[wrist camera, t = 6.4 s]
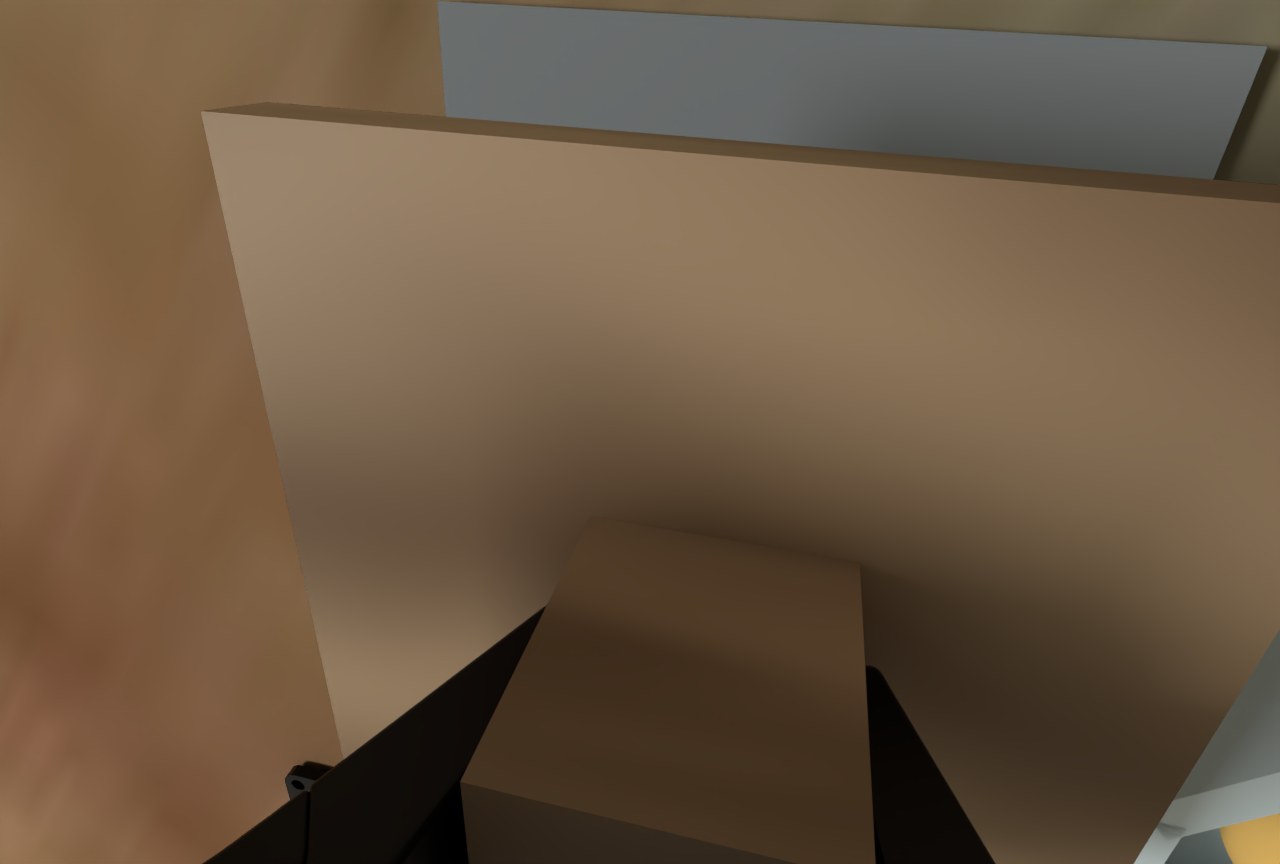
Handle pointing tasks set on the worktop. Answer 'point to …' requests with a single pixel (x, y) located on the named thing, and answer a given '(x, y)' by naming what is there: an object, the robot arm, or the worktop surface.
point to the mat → (852, 85)
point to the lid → (767, 470)
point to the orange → (1253, 841)
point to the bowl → (1227, 776)
